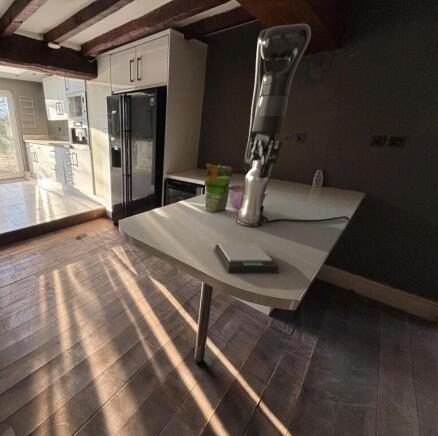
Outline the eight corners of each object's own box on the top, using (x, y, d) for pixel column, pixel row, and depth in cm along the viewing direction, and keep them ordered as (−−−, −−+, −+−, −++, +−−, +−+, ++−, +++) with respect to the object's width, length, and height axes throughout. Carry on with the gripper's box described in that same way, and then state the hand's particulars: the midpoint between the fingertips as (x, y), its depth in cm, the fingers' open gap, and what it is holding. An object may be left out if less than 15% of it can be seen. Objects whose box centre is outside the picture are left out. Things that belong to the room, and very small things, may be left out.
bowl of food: (267, 217, 119) (273, 195, 114) (227, 214, 121) (231, 193, 117) (257, 205, 137) (261, 186, 132) (222, 202, 140) (225, 183, 135)
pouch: (228, 213, 123) (236, 165, 114) (207, 213, 122) (213, 165, 112) (219, 206, 133) (226, 162, 124) (199, 206, 132) (205, 162, 122)
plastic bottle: (257, 219, 79) (270, 159, 71) (259, 227, 73) (273, 162, 65) (237, 217, 80) (247, 158, 73) (237, 224, 75) (248, 161, 67)
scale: (256, 250, 87) (258, 242, 86) (277, 272, 74) (279, 264, 73) (214, 250, 86) (216, 242, 85) (228, 272, 73) (229, 264, 72)
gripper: (299, 114, 58) (282, 181, 64) (269, 116, 71) (258, 171, 77) (270, 113, 57) (256, 180, 64) (245, 115, 71) (236, 170, 77)
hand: (257, 175), depth 71 cm, fingers closed on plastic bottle, 6 cm apart
